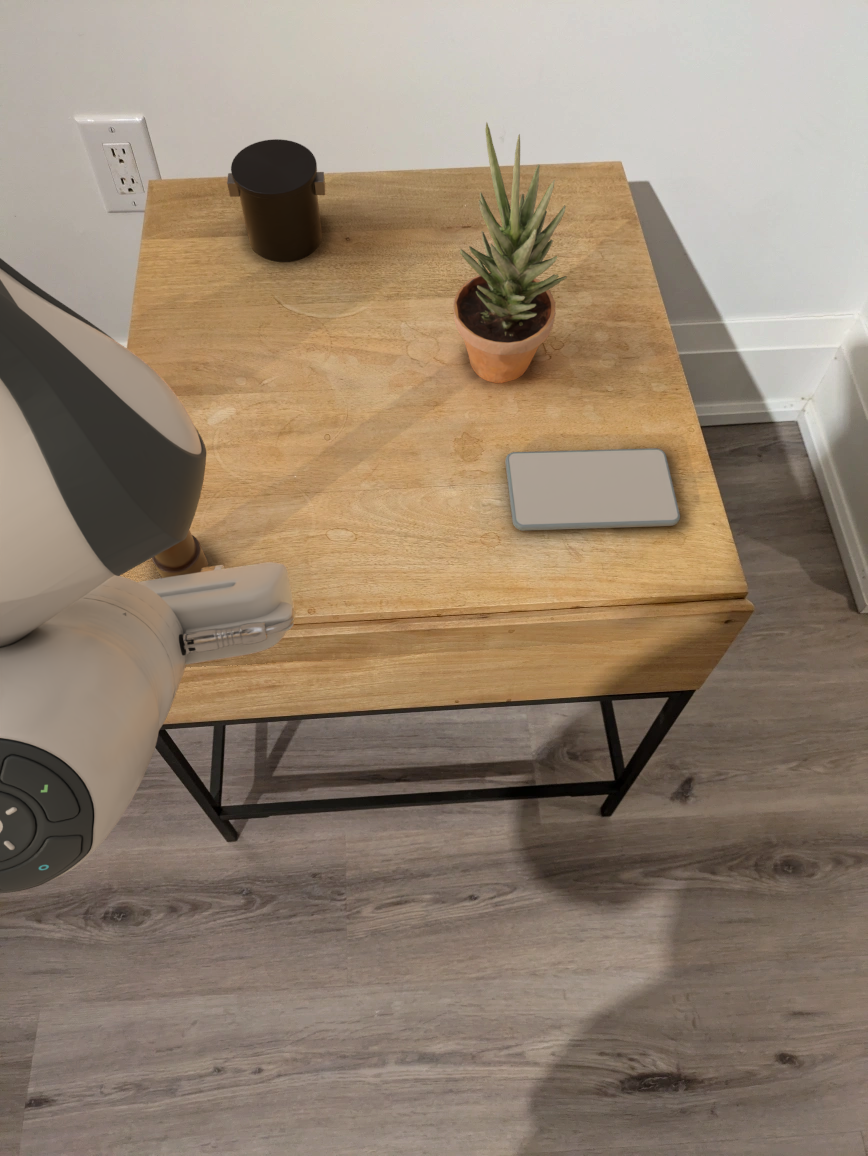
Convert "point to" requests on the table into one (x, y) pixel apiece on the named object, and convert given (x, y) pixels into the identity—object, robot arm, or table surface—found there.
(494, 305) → the potted plant
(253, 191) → the black cooking pot
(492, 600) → the table surface
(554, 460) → the smartphone
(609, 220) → the table surface
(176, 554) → the walnut pestle
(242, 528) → the table surface
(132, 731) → the robot arm
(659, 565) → the table surface
